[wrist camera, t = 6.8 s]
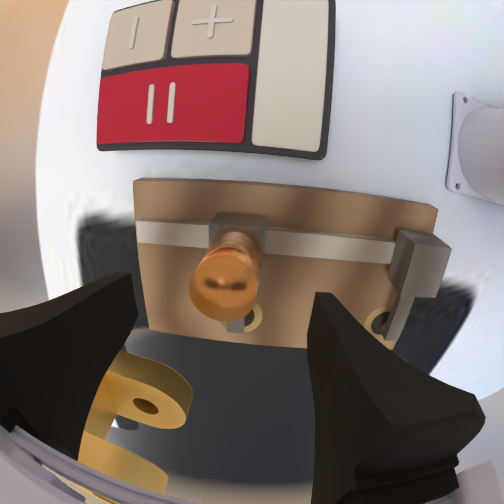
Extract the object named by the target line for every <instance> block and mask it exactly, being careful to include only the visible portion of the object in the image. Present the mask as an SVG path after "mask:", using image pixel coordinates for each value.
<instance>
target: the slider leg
mask: <svg viewBox="0 0 504 504" xmlns="http://www.w3.org/2000/svg"><path fill="white" fill-rule="evenodd" d="M265 219H266V216H257V215H244V214H230V213H217V214H216V215H215V217H214V218H213V219H212V221H211V222H210V223H209V249H208V250H207V252H206V254H205V255H204V257H203V259H202V260H201V262H200V264H199V266H198V267H197V269H196V271H195V272H194V274H193V276H192V278H191V280H190V283H189V295H190V298H191V301H192V302H193V304H194V306H195V307H196V308H197V309H198V310H199V311H200V312H201V313H202V314H204V315H205V316H207V317H209V318H211V319H214V320H217V321H224V322H227V332H230V333H239V334H243V333H244V327H245V316H246V315H247V314H248V313H249V312H250V311H251V310H252V309H253V307H254V305H255V302H256V296H257V288H258V287H259V286H260V278H261V270H262V258H263V246H264V233H265Z"/></svg>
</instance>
